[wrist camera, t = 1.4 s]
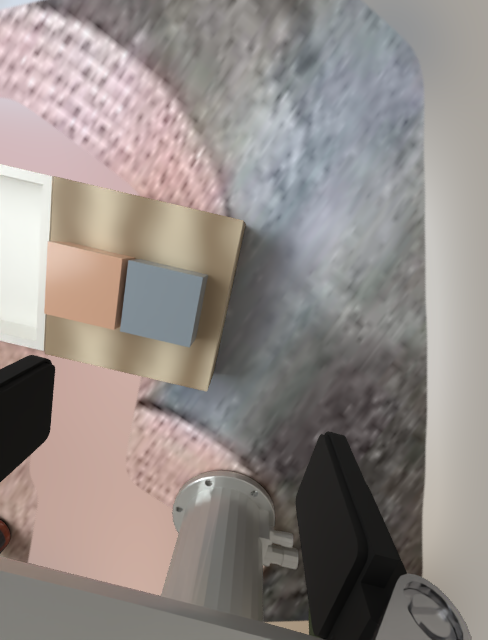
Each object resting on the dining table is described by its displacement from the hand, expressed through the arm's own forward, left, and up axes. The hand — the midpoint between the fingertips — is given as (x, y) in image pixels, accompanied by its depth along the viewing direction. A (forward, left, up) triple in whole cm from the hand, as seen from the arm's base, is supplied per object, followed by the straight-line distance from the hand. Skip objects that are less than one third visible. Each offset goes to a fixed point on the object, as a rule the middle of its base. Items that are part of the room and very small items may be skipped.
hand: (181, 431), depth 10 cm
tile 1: (+6, 0, -16) cm, 17 cm away
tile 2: (+12, 0, -16) cm, 20 cm away
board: (+9, 0, -20) cm, 22 cm away
